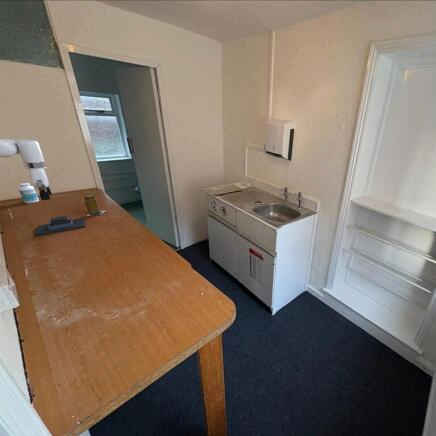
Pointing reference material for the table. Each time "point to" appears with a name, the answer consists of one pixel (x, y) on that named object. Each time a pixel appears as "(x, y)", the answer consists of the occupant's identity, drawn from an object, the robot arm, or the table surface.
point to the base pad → (60, 227)
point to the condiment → (92, 206)
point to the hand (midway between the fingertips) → (47, 197)
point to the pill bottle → (28, 193)
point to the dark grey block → (59, 220)
